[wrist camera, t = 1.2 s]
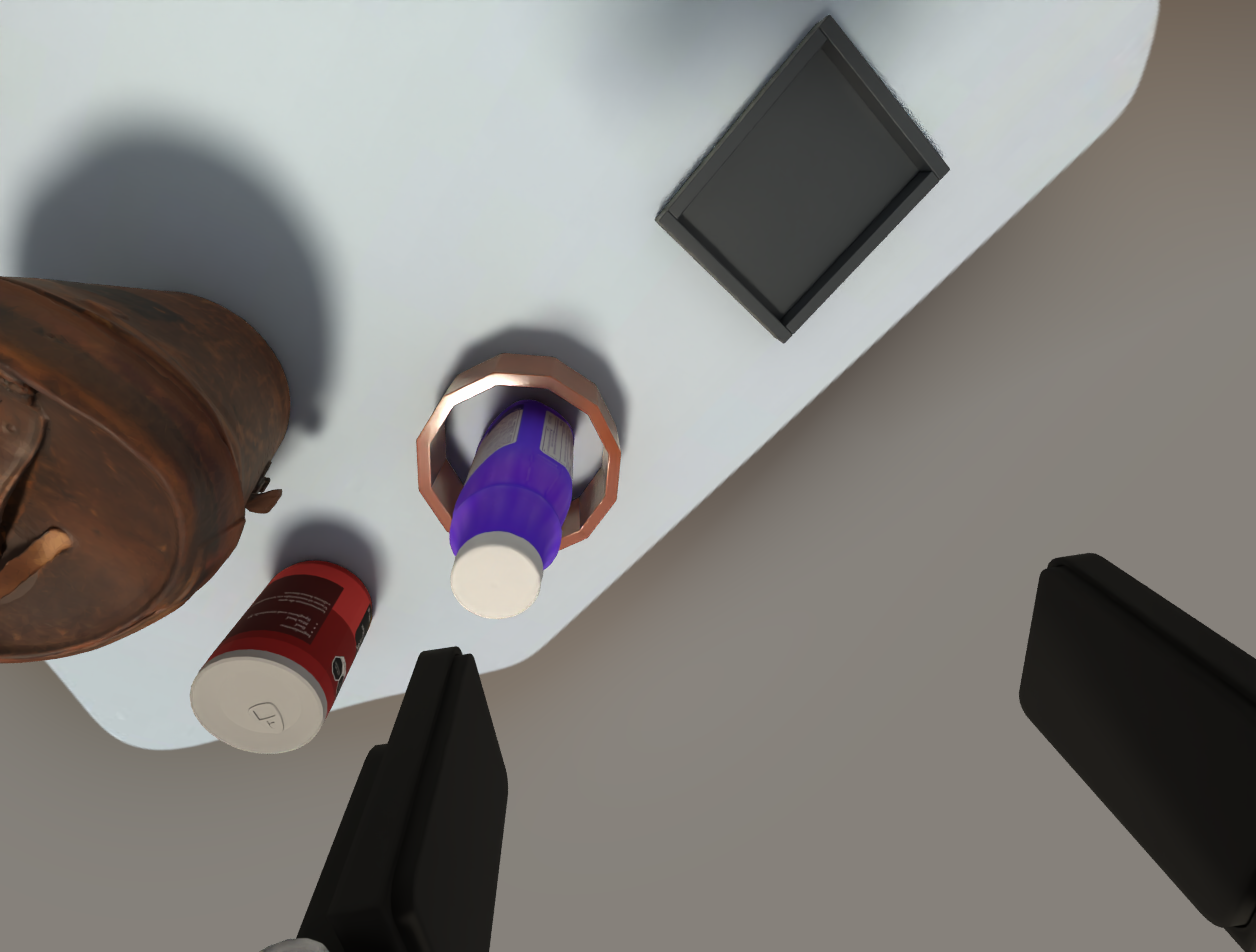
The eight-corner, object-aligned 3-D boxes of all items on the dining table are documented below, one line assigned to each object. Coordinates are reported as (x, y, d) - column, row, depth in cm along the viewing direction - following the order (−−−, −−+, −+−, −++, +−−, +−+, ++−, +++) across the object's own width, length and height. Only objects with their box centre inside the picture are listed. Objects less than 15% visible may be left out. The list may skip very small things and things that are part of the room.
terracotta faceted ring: (436, 517, 45) (421, 553, 41) (430, 347, 40) (412, 366, 36) (607, 525, 47) (610, 560, 42) (622, 361, 42) (628, 381, 37)
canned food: (323, 657, 50) (259, 773, 40) (246, 589, 46) (157, 696, 36) (397, 611, 48) (352, 719, 38) (324, 539, 45) (253, 635, 35)
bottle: (530, 501, 45) (507, 663, 30) (463, 460, 44) (399, 609, 28) (588, 425, 43) (596, 556, 27) (520, 379, 42) (486, 490, 26)
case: (90, 530, 43) (-199, 729, 27) (-21, 225, 35) (-529, 249, 19) (351, 529, 45) (226, 716, 29) (303, 237, 37) (91, 268, 21)
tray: (775, 337, 42) (784, 344, 40) (654, 220, 38) (658, 221, 36) (933, 170, 38) (951, 169, 36) (816, 22, 35) (829, 13, 33)
